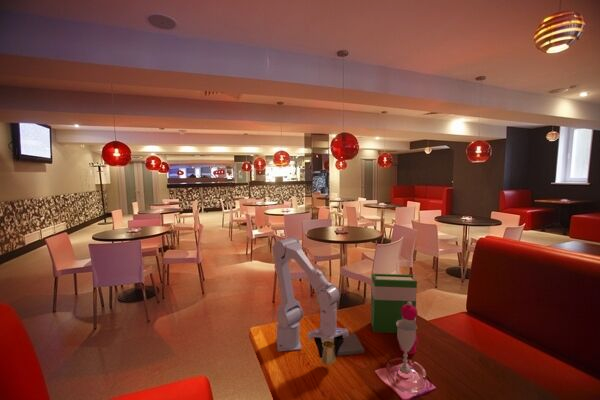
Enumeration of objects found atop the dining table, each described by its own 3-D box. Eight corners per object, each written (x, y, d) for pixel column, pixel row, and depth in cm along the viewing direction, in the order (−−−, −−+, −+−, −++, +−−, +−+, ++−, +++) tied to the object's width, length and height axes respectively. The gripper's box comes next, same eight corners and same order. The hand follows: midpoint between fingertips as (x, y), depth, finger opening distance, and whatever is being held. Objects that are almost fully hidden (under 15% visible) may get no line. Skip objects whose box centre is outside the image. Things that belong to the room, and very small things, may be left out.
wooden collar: (322, 365, 97) (322, 349, 96) (319, 355, 102) (319, 340, 101) (336, 363, 97) (336, 347, 97) (332, 354, 102) (333, 339, 102)
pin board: (324, 357, 105) (324, 343, 105) (318, 339, 116) (318, 327, 115) (364, 352, 107) (364, 339, 107) (354, 336, 118) (354, 324, 118)
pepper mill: (419, 356, 105) (421, 306, 103) (399, 354, 107) (401, 305, 105) (415, 344, 112) (417, 298, 110) (396, 342, 114) (398, 296, 112)
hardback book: (409, 324, 127) (411, 274, 125) (414, 333, 120) (417, 281, 118) (370, 322, 129) (372, 273, 126) (373, 331, 122) (375, 279, 119)
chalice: (398, 363, 102) (400, 317, 100) (417, 371, 97) (420, 323, 95) (391, 374, 96) (393, 326, 94) (411, 384, 92) (413, 333, 90)
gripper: (310, 327, 93) (310, 365, 94) (351, 324, 95) (350, 361, 96) (306, 316, 100) (306, 351, 101) (345, 314, 102) (344, 348, 103)
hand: (327, 355), depth 99 cm, fingers closed on wooden collar, 5 cm apart
